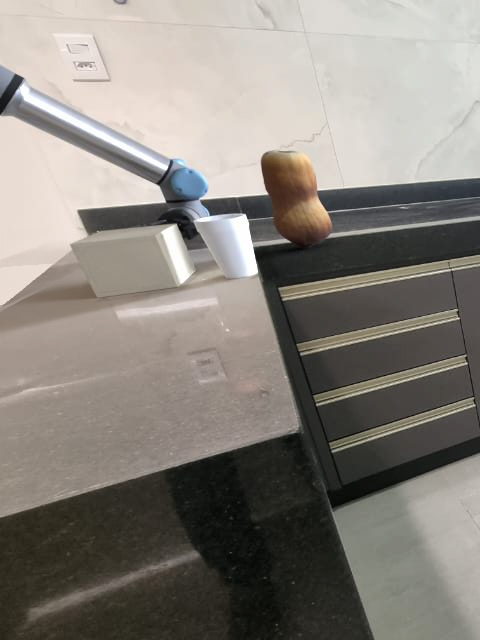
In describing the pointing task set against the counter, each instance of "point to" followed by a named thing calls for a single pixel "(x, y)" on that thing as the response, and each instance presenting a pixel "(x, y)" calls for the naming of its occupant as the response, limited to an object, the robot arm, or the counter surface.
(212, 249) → the foam cup
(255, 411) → the counter surface
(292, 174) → the butternut squash
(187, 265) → the beige rounded box
